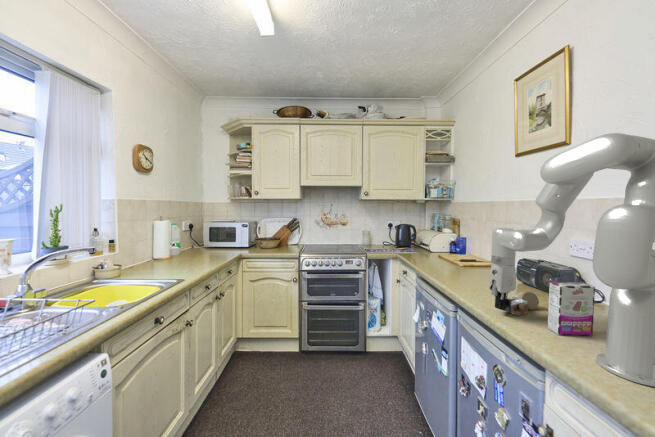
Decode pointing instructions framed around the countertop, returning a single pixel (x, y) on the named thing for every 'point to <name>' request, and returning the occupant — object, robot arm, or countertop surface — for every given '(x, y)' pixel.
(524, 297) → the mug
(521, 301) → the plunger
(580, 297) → the candy bar box
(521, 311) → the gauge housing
